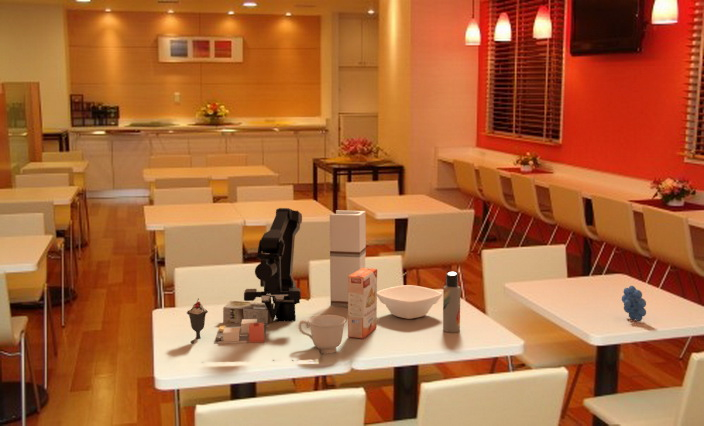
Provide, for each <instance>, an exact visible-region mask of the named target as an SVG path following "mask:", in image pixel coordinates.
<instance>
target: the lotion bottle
mask: <svg viewBox="0 0 704 426" xmlns="http://www.w3.org/2000/svg"><path fill="white" fill-rule="evenodd" d="M445 275H446V277H445V279H446V280H445V285H444V286H443V287H442V288H443V289H442V290H443V291H442V292H443V293H442V298H443V299H442V303H443V304H442V330H443V332H446V333H451V334H452V333H458V332H460V330H461V286H459V275H458V273H457V272H456V271H449V272H446V274H445Z"/></svg>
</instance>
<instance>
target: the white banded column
mask: <svg viewBox="0 0 704 426" xmlns="http://www.w3.org/2000/svg"><path fill="white" fill-rule="evenodd" d="M366 213H367V212H366V210H342V209H340V210H339V209H337V210H335V214H334V213H329V259H330V260H329V271H330V272H329V276H330V277H329V278H330V279H329V281H330V282H329V283H330V285H329V286H330V287H329V289H330V290H329V291H330V307H341V306H345V307H344V308H346V307H347V308H348V276H349V275H351V274H353V273H354V272H356V271H358V270H360V269H361V268H366V255H367V253H366V252H367V250H366V249H367V248H366V247H367V244H366V243H367V242H366V241H367V238H366V237H367V235H366V234H367V230H366V229H367V227H366V226H367V225H366V223H367V222H366V221H367V219H366V217H367V216H366V215H367V214H366Z"/></svg>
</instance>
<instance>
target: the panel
mask: <svg viewBox="0 0 704 426" xmlns="http://www.w3.org/2000/svg"><path fill="white" fill-rule="evenodd" d="M267 325H268V324H264V342H249V332H241V324H237V325H236V324H232V325H231V324H230V325H229V324H228V325H219V328H218V330H217V334H216V336H215V338H214V341H213V345H222V344H223V345H224V344H256V343H257V344H262V343H263V344H264V343H265V339H266V332H267ZM224 328H240V340H239V341H223V331H224Z"/></svg>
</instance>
